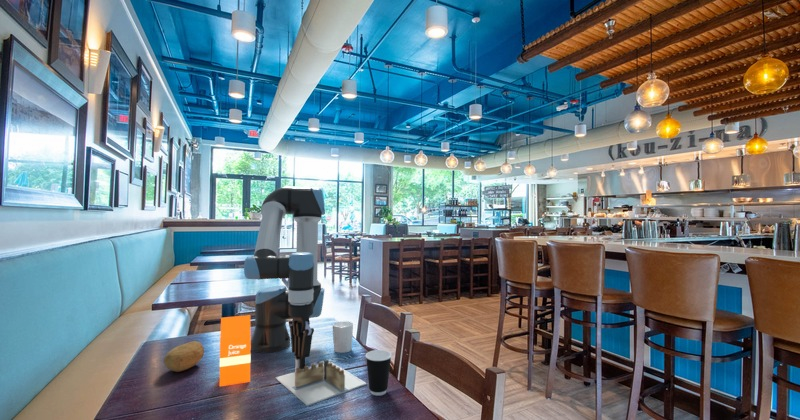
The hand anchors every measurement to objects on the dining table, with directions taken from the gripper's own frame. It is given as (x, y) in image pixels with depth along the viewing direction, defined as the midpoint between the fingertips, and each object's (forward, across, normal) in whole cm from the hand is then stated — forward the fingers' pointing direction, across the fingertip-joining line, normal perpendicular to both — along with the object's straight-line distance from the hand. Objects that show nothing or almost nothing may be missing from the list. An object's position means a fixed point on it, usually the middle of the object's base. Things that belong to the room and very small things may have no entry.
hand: (300, 377), depth 114 cm
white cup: (+2, +16, -26) cm, 30 cm away
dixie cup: (+2, -20, -15) cm, 25 cm away
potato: (+2, +35, +26) cm, 44 cm away
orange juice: (+2, +16, +14) cm, 22 cm away
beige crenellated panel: (+1, -3, -2) cm, 3 cm away
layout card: (+2, -3, -6) cm, 6 cm away
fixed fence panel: (+2, -8, -7) cm, 11 cm away
